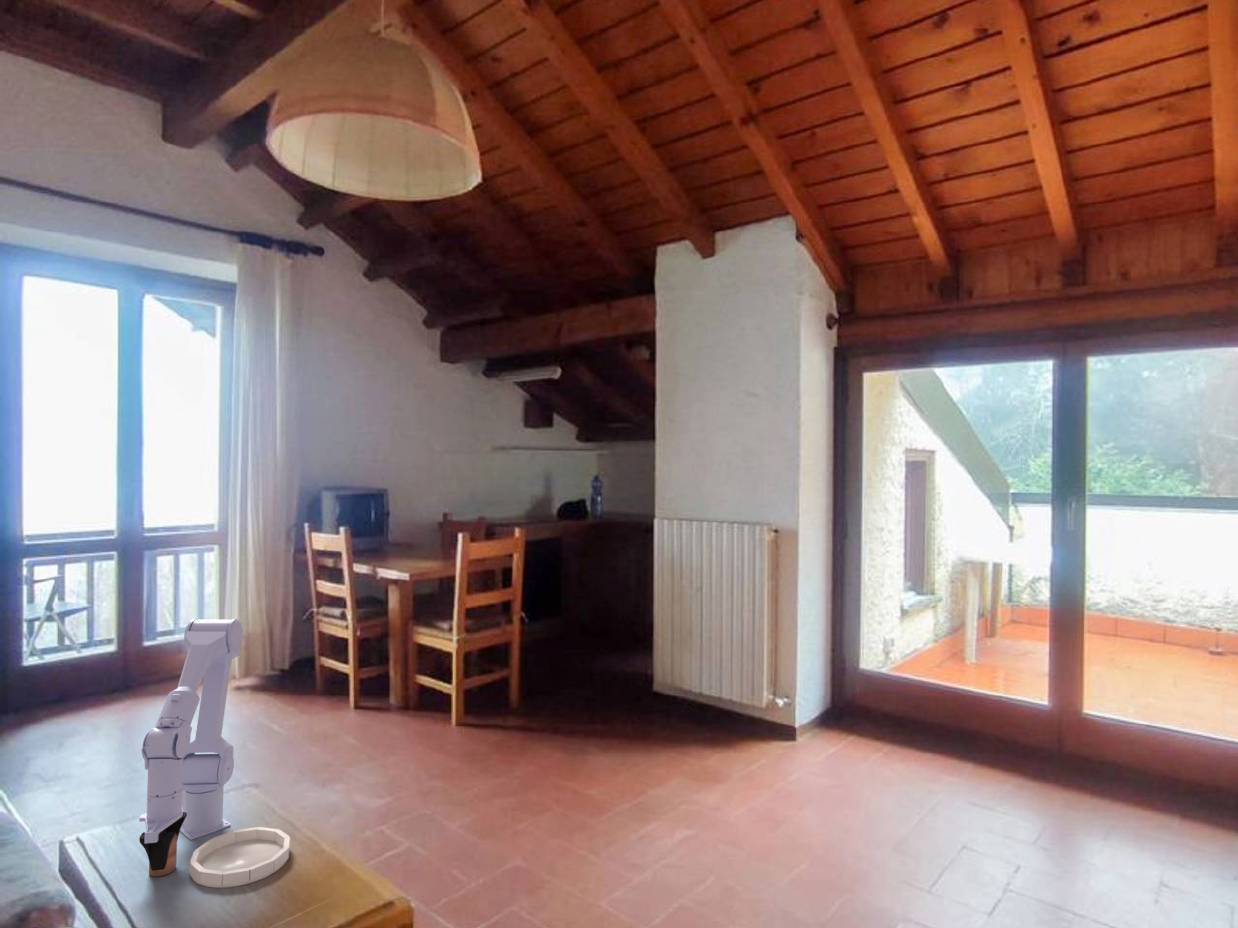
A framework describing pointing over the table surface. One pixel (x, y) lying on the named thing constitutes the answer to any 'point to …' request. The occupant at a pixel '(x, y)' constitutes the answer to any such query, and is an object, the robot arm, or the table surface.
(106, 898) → the table surface
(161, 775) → the robot arm
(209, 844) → the round tray
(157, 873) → the brown rounded cylinder
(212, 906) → the table surface
